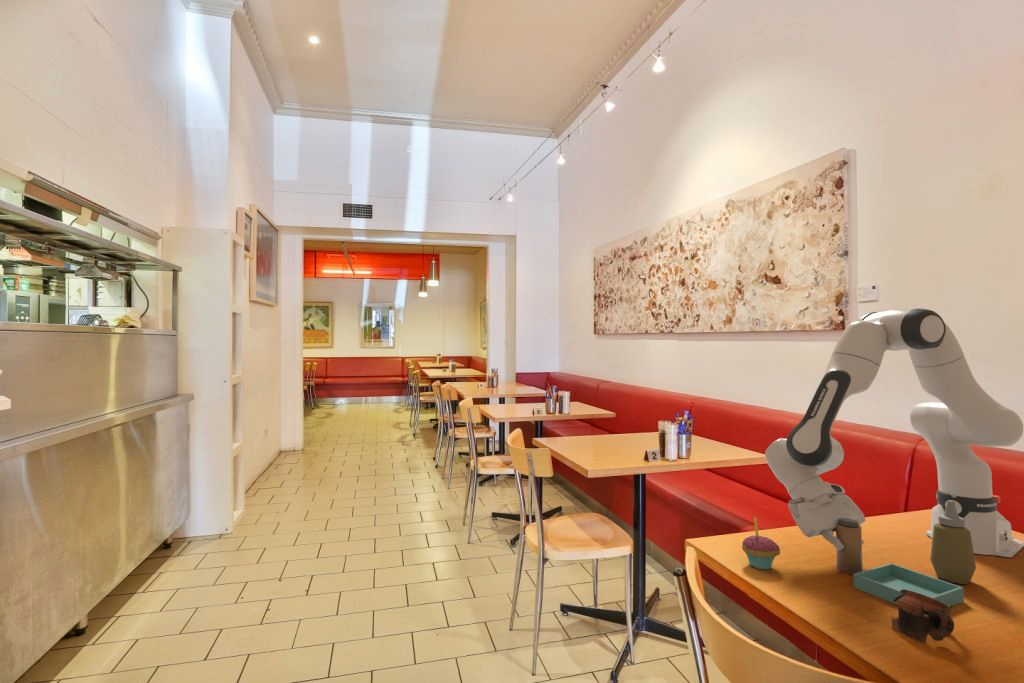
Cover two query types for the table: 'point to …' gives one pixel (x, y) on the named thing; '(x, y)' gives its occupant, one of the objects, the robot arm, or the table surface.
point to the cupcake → (760, 550)
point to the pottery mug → (922, 617)
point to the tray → (905, 584)
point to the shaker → (849, 546)
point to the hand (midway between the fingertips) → (851, 547)
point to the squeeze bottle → (952, 548)
